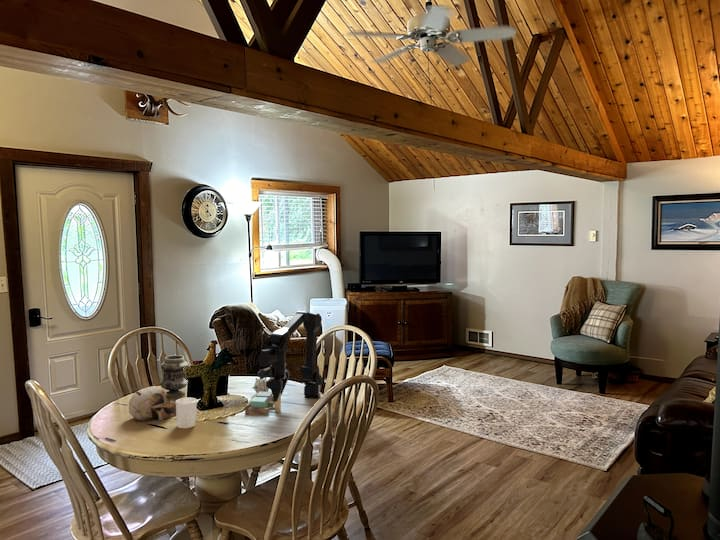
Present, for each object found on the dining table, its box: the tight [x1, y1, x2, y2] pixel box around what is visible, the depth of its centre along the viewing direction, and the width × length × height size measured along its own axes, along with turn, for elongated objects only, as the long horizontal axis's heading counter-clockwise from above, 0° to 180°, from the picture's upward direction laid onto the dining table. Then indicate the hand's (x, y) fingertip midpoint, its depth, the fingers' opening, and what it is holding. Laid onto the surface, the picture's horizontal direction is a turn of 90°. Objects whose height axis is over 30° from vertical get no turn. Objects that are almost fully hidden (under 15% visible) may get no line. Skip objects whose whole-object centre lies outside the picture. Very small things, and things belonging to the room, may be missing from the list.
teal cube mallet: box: [249, 393, 282, 413], centre depth 220 cm, size 12×6×8 cm, turn 86°
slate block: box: [256, 391, 273, 402], centre depth 228 cm, size 6×6×5 cm
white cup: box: [175, 397, 198, 429], centre depth 201 cm, size 8×8×10 cm
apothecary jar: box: [160, 354, 189, 399], centre depth 238 cm, size 12×12×18 cm
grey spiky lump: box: [251, 377, 270, 393], centre depth 242 cm, size 9×8×10 cm
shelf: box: [244, 392, 275, 416], centre depth 224 cm, size 10×18×4 cm, turn 176°
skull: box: [128, 385, 176, 422], centre depth 209 cm, size 16×17×13 cm
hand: (278, 398), depth 219 cm, fingers open, 9 cm apart
